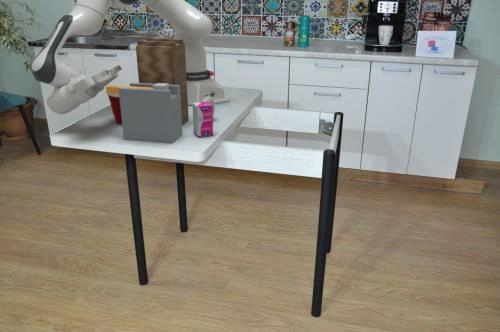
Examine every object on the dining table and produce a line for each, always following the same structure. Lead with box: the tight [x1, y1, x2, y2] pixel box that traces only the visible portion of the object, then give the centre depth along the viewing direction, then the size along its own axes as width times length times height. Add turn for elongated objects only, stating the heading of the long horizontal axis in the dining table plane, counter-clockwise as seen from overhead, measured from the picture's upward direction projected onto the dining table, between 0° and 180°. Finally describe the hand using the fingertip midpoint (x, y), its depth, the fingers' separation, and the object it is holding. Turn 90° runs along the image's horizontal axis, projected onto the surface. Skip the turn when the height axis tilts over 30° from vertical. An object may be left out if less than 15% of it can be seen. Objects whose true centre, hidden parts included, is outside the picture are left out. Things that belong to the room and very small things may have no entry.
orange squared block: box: [105, 83, 169, 95], centre depth 164 cm, size 22×4×4 cm, turn 76°
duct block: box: [119, 82, 184, 144], centre depth 166 cm, size 18×10×18 cm, turn 76°
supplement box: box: [192, 102, 214, 139], centre depth 170 cm, size 6×6×12 cm
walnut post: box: [135, 37, 190, 127], centre depth 178 cm, size 14×12×32 cm
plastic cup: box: [106, 92, 122, 125], centre depth 185 cm, size 11×11×12 cm
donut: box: [201, 96, 216, 116], centre depth 185 cm, size 10×3×10 cm, turn 161°
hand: (113, 69), depth 164 cm, fingers open, 8 cm apart
